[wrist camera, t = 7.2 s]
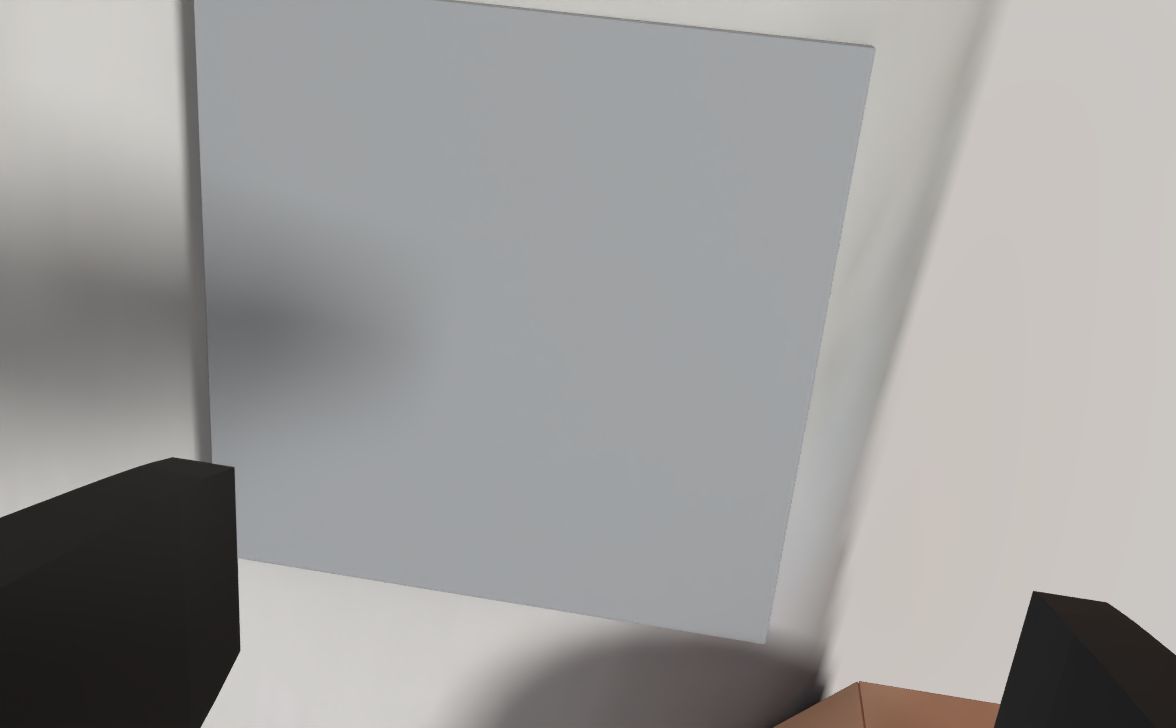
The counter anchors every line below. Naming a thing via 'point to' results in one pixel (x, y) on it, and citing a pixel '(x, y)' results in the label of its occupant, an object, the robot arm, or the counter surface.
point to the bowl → (893, 710)
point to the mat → (520, 295)
